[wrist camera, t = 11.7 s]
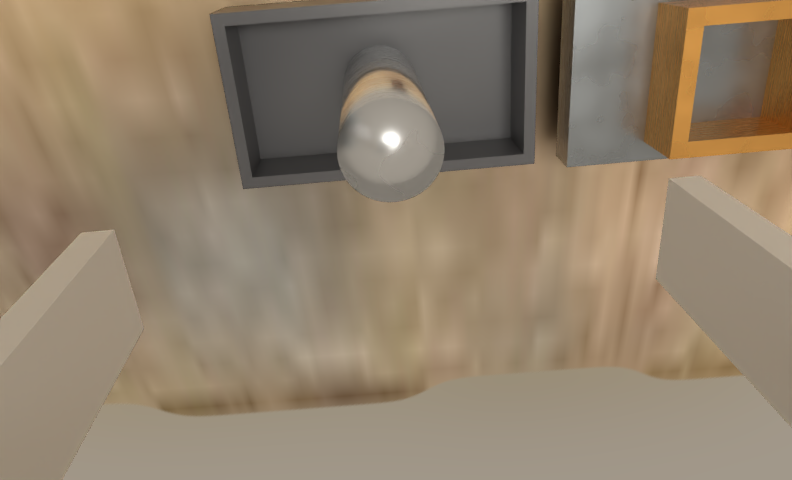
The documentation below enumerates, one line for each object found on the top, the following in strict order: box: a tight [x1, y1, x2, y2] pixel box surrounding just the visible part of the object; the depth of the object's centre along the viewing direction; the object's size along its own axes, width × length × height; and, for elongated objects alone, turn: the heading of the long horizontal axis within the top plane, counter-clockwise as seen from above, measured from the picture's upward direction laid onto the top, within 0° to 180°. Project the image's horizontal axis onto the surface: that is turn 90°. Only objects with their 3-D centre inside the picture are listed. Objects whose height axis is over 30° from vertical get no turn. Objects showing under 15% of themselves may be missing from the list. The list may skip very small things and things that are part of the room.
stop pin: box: [337, 45, 444, 202], centre depth 29 cm, size 4×4×13 cm
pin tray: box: [210, 0, 539, 189], centre depth 33 cm, size 16×9×4 cm, turn 94°
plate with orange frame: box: [556, 0, 792, 167], centre depth 32 cm, size 15×9×8 cm, turn 94°
